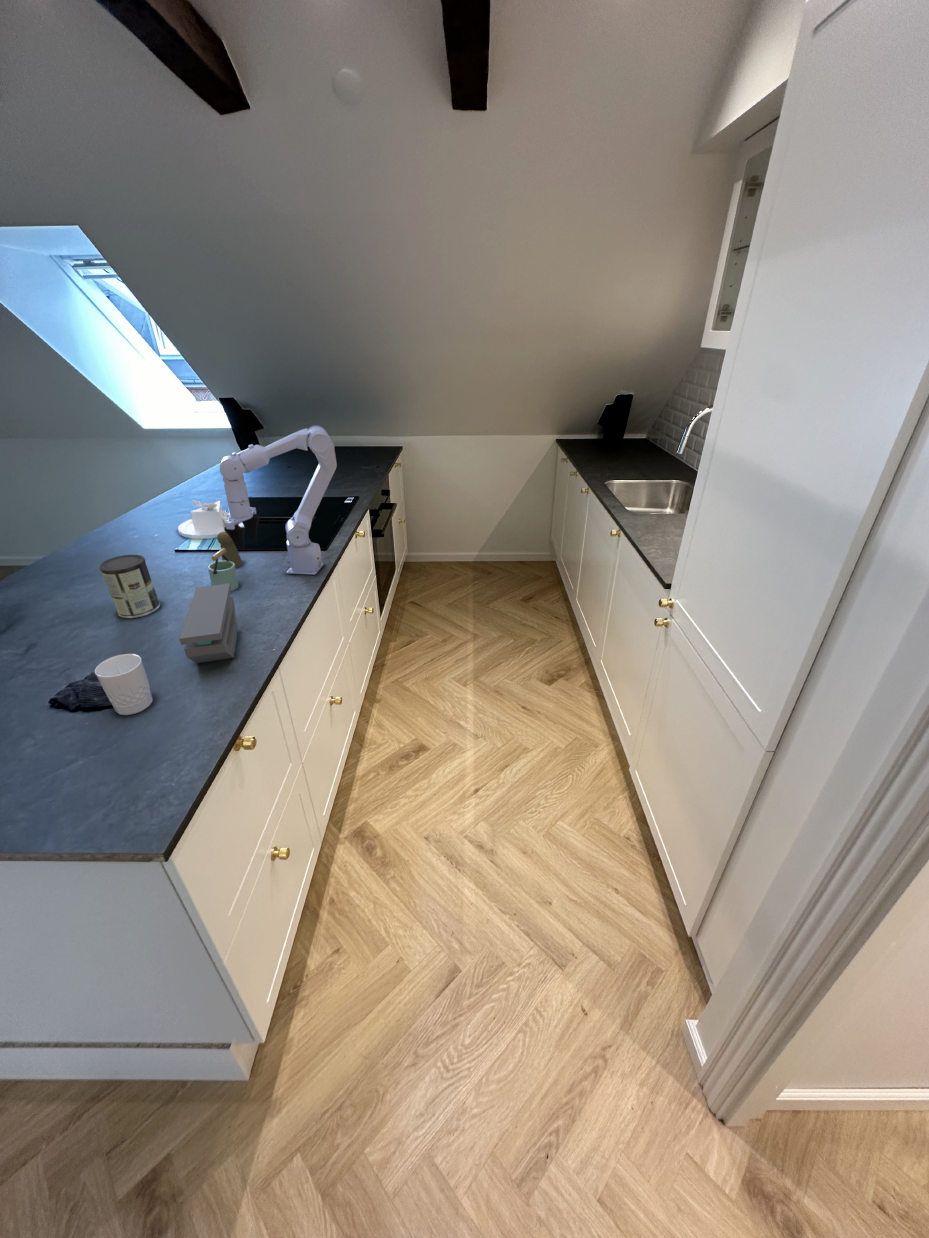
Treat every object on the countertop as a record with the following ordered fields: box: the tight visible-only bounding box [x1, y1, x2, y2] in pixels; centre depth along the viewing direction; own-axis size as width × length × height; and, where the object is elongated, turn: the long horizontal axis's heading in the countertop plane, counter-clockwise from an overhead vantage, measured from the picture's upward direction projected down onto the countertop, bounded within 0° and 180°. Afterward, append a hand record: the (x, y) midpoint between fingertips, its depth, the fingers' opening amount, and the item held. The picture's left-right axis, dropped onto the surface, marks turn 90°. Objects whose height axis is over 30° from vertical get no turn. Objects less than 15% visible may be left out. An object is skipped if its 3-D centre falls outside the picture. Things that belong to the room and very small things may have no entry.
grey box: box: [178, 583, 238, 664], centre depth 121 cm, size 25×8×11 cm, turn 17°
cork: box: [216, 532, 244, 569], centre depth 163 cm, size 6×6×11 cm
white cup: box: [94, 653, 154, 716], centre depth 102 cm, size 8×8×10 cm
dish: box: [177, 499, 244, 540], centre depth 193 cm, size 25×25×11 cm
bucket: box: [207, 548, 240, 592], centre depth 148 cm, size 7×8×11 cm
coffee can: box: [98, 554, 161, 619], centre depth 136 cm, size 10×10×14 cm
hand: (246, 544), depth 153 cm, fingers open, 7 cm apart
